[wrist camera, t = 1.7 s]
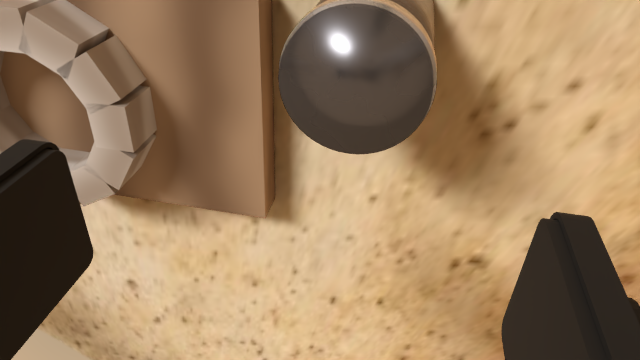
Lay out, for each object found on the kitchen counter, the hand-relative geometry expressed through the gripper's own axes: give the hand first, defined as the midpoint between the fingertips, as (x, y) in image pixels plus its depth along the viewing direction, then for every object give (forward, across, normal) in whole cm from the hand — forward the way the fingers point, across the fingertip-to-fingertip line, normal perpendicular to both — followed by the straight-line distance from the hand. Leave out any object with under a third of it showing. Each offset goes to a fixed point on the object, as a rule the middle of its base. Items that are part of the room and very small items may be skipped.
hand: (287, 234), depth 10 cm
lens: (+15, 0, 0) cm, 15 cm away
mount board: (+16, +14, +5) cm, 21 cm away
